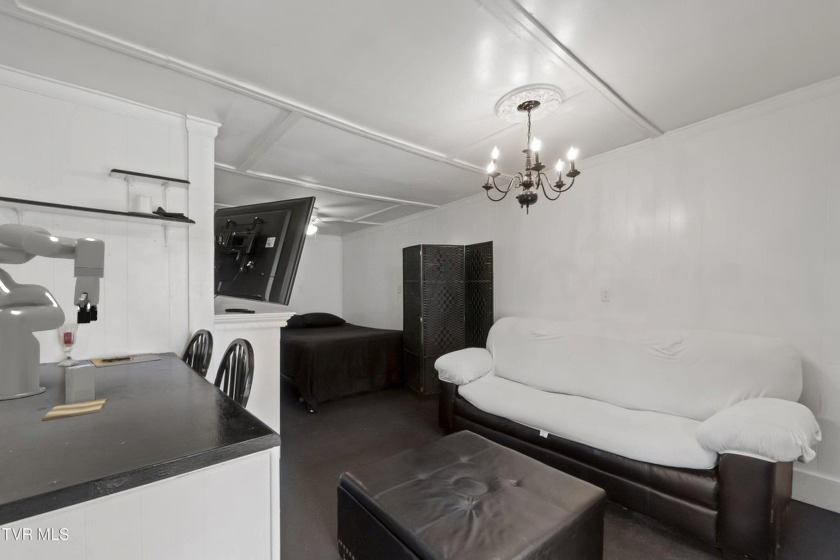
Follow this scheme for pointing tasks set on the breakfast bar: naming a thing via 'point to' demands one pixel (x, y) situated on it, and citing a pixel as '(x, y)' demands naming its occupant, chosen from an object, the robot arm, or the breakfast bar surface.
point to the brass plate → (75, 409)
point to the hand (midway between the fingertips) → (87, 322)
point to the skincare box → (80, 383)
